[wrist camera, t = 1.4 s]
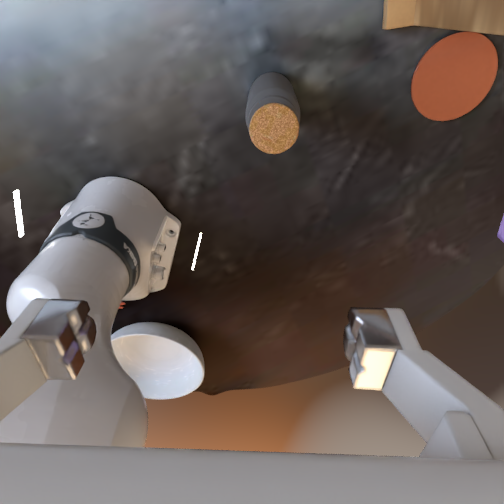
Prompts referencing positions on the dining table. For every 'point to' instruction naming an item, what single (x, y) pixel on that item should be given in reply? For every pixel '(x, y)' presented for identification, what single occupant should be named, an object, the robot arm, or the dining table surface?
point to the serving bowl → (159, 359)
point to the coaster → (454, 76)
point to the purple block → (501, 231)
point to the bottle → (272, 113)
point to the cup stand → (446, 15)
